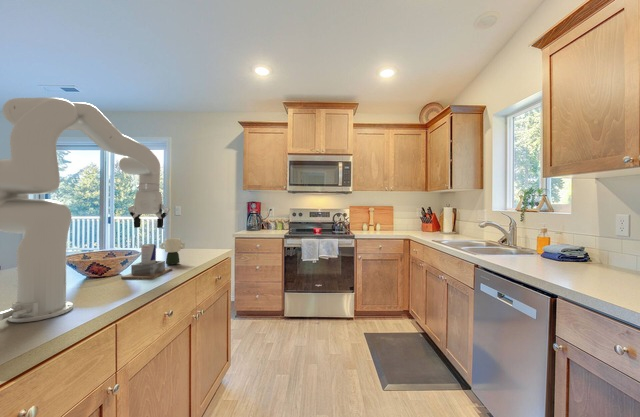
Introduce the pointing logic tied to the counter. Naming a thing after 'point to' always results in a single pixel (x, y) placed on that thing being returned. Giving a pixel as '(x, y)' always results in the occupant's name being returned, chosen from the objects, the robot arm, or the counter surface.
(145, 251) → the energy drink
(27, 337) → the counter surface
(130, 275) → the can holder
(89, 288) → the counter surface
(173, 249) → the character mug
